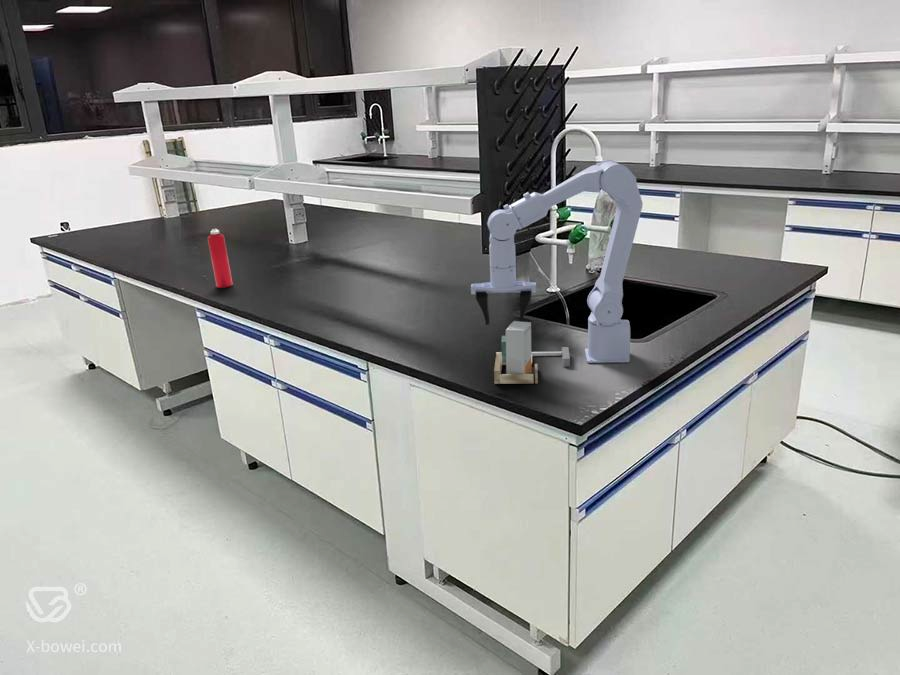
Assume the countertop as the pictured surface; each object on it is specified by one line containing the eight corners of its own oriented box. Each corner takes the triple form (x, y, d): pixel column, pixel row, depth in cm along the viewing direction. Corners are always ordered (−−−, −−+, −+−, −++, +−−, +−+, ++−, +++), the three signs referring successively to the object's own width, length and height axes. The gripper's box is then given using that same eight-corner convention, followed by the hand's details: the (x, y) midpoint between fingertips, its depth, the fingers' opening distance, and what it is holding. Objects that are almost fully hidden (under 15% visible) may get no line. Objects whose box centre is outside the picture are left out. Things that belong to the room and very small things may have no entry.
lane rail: (568, 354, 159) (568, 346, 159) (569, 366, 153) (569, 358, 152) (496, 355, 161) (496, 347, 161) (494, 367, 155) (494, 359, 154)
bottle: (227, 287, 232) (217, 230, 225) (213, 287, 233) (202, 230, 226) (235, 283, 237) (225, 227, 230) (221, 283, 238) (211, 227, 231)
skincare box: (525, 383, 146) (524, 331, 142) (506, 381, 148) (504, 329, 143) (532, 372, 151) (531, 321, 147) (514, 370, 153) (512, 320, 149)
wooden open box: (537, 356, 159) (536, 334, 157) (537, 383, 145) (537, 359, 143) (497, 356, 160) (496, 334, 158) (494, 383, 146) (493, 359, 144)
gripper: (535, 259, 152) (536, 316, 157) (471, 261, 154) (474, 317, 159) (535, 268, 146) (536, 327, 150) (469, 269, 147) (471, 328, 152)
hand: (504, 323), depth 154 cm, fingers open, 7 cm apart
